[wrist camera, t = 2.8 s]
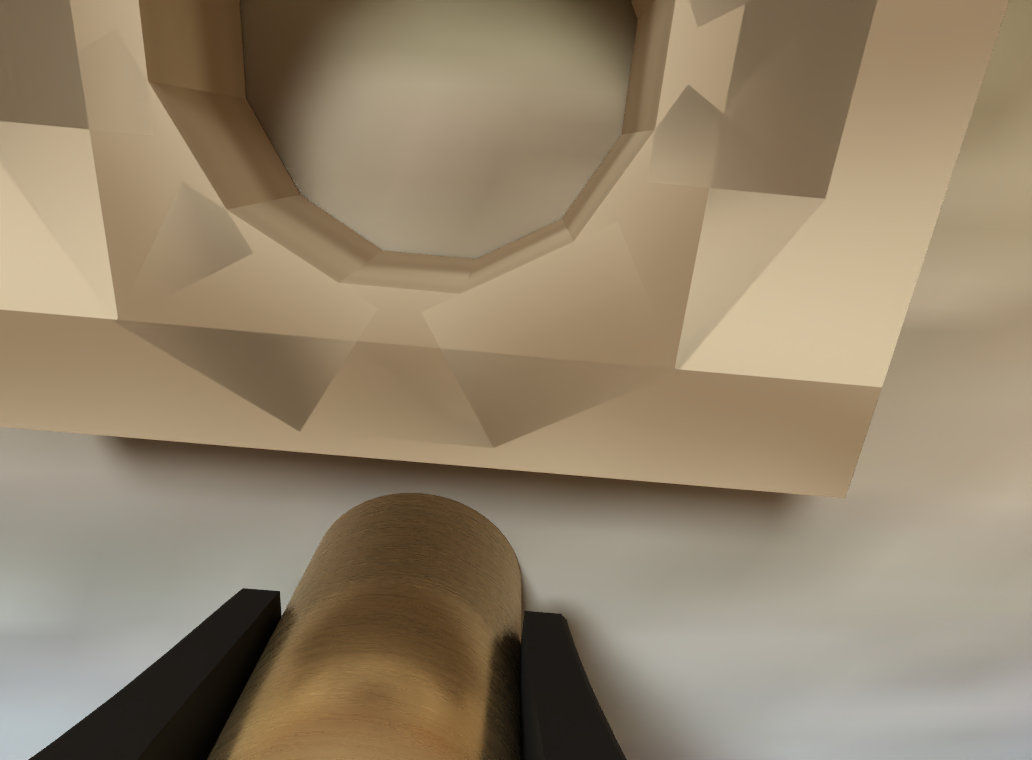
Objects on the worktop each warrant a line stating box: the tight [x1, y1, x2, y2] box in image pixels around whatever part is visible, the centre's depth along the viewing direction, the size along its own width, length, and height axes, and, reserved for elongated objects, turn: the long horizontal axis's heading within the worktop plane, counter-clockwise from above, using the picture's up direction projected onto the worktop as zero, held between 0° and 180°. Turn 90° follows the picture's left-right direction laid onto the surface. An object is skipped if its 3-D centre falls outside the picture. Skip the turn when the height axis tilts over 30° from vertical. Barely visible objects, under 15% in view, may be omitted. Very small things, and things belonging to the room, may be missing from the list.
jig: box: [0, 0, 1009, 498], centre depth 7 cm, size 10×12×2 cm
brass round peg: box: [207, 493, 521, 760], centre depth 8 cm, size 4×4×7 cm
